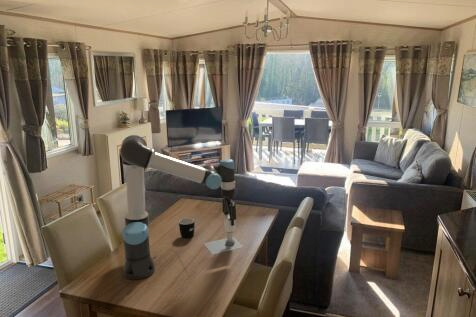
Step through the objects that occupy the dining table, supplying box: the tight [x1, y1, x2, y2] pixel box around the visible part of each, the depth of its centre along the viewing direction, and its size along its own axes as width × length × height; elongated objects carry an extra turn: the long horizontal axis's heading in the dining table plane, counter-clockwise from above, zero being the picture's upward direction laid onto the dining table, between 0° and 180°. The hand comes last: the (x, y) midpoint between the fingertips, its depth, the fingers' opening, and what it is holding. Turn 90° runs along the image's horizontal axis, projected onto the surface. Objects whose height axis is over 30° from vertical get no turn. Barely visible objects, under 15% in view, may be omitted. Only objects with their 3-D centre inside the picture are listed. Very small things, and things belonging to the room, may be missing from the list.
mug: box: [178, 217, 196, 239], centre depth 211 cm, size 12×9×10 cm
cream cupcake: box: [223, 215, 237, 232], centre depth 197 cm, size 6×6×7 cm
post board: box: [203, 231, 244, 255], centre depth 197 cm, size 18×14×8 cm
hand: (229, 228), depth 197 cm, fingers closed on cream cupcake, 6 cm apart
